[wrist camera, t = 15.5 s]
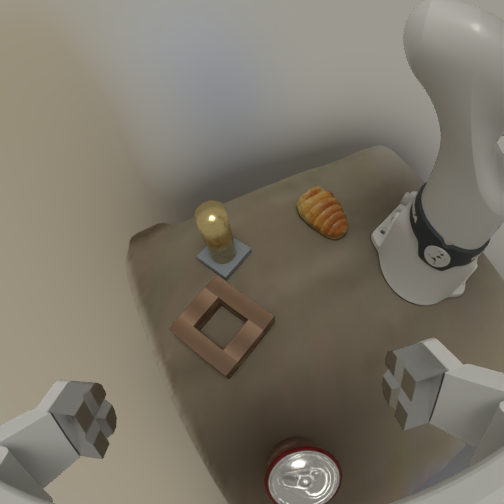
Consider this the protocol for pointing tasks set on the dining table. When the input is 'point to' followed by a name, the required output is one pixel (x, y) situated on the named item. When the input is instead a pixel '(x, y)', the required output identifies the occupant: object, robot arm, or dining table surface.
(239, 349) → the wooden square frame
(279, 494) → the soda can
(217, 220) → the peg
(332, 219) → the pastry
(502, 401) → the robot arm
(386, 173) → the dining table surface
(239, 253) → the mat
